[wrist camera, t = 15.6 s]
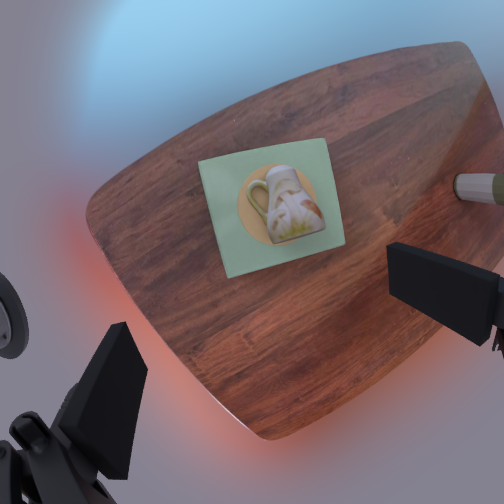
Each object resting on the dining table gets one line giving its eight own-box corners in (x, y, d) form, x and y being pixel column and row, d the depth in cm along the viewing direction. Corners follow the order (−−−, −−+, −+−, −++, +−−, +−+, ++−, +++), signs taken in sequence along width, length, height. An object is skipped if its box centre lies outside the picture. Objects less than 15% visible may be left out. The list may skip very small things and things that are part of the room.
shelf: (198, 167, 40) (197, 161, 33) (306, 145, 42) (325, 137, 35) (223, 265, 44) (228, 279, 37) (325, 237, 46) (346, 244, 39)
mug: (295, 156, 35) (345, 185, 28) (288, 217, 41) (329, 254, 34) (244, 162, 33) (290, 195, 26) (243, 227, 39) (280, 271, 32)
